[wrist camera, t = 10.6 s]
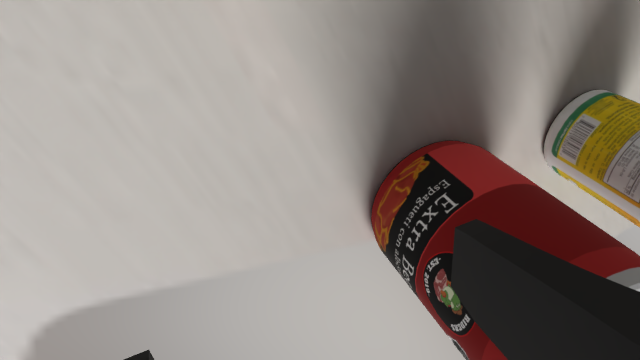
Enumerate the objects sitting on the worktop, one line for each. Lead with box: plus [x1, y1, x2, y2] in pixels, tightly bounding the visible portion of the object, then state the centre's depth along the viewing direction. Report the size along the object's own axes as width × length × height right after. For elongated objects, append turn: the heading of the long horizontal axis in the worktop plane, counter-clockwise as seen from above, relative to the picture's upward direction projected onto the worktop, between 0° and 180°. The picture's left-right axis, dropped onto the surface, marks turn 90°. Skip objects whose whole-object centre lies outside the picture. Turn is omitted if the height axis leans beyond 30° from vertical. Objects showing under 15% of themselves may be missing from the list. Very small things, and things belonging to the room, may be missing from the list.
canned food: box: [371, 141, 640, 360], centre depth 22 cm, size 8×8×11 cm
